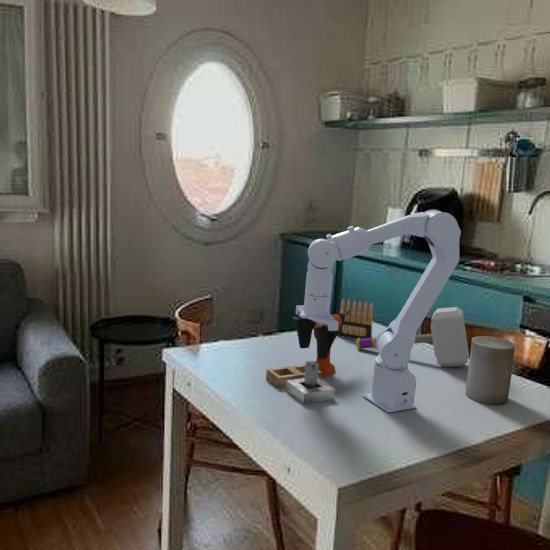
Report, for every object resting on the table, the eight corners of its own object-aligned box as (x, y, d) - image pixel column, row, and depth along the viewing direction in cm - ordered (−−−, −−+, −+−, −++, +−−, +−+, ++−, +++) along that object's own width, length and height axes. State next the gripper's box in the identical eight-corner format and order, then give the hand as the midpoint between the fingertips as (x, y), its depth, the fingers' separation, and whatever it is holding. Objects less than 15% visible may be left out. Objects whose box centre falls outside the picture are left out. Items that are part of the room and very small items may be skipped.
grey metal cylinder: (318, 396, 128) (321, 364, 127) (307, 398, 126) (310, 366, 125) (311, 391, 130) (314, 360, 129) (300, 393, 129) (303, 361, 128)
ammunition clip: (371, 340, 174) (375, 302, 172) (370, 341, 173) (374, 303, 170) (337, 334, 178) (341, 297, 176) (336, 335, 176) (339, 298, 174)
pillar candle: (511, 396, 136) (519, 336, 133) (503, 409, 128) (512, 345, 125) (470, 386, 141) (477, 328, 138) (460, 398, 133) (467, 336, 130)
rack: (308, 373, 142) (309, 363, 142) (321, 381, 137) (322, 372, 137) (265, 378, 136) (266, 369, 136) (277, 387, 131) (278, 377, 131)
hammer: (350, 321, 160) (460, 311, 149) (356, 315, 167) (462, 305, 156) (358, 373, 162) (468, 366, 151) (364, 365, 169) (469, 358, 158)
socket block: (334, 399, 127) (334, 389, 126) (303, 404, 123) (304, 393, 123) (315, 386, 134) (315, 376, 133) (285, 390, 130) (286, 380, 130)
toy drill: (355, 354, 155) (358, 302, 151) (324, 381, 140) (326, 325, 135) (339, 350, 157) (341, 299, 153) (307, 376, 142) (308, 321, 138)
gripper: (286, 287, 128) (281, 344, 131) (320, 302, 116) (315, 365, 119) (312, 286, 132) (307, 342, 134) (348, 301, 119) (342, 362, 122)
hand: (313, 353), depth 127 cm, fingers open, 7 cm apart
